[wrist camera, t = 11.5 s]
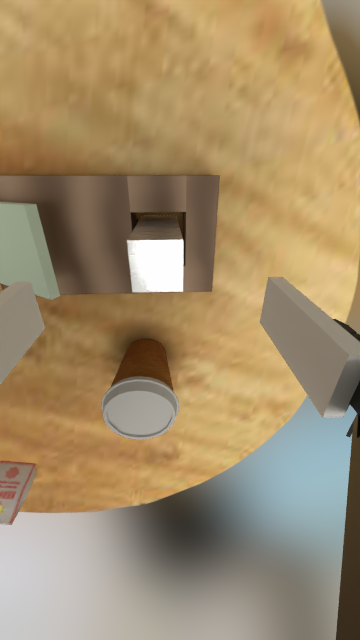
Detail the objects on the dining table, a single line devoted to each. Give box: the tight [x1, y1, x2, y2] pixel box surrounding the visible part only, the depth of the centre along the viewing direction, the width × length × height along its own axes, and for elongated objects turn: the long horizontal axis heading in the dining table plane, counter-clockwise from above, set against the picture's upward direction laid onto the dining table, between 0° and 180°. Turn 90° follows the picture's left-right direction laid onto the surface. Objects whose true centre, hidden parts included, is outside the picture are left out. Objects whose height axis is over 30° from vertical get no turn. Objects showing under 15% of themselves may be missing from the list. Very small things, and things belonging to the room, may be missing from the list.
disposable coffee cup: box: [101, 339, 179, 439], centre depth 35 cm, size 10×10×12 cm
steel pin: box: [127, 215, 183, 293], centre depth 25 cm, size 4×4×14 cm
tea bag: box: [0, 461, 36, 525], centre depth 49 cm, size 4×7×10 cm, turn 76°
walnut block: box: [0, 175, 220, 295], centre depth 28 cm, size 24×12×5 cm, turn 90°
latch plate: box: [0, 201, 60, 300], centre depth 23 cm, size 10×8×1 cm
